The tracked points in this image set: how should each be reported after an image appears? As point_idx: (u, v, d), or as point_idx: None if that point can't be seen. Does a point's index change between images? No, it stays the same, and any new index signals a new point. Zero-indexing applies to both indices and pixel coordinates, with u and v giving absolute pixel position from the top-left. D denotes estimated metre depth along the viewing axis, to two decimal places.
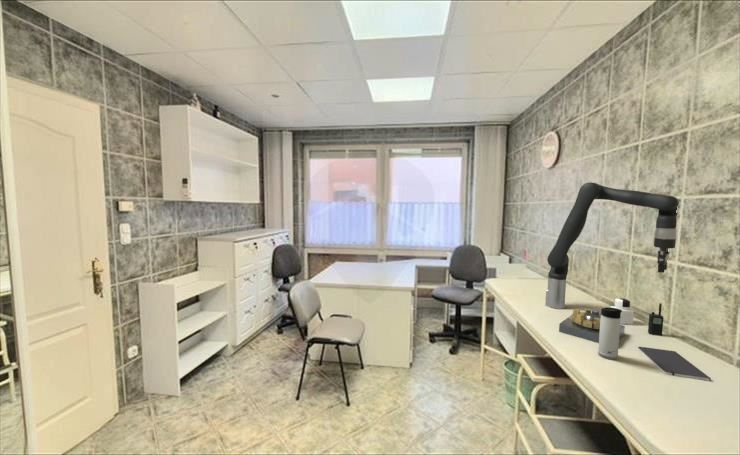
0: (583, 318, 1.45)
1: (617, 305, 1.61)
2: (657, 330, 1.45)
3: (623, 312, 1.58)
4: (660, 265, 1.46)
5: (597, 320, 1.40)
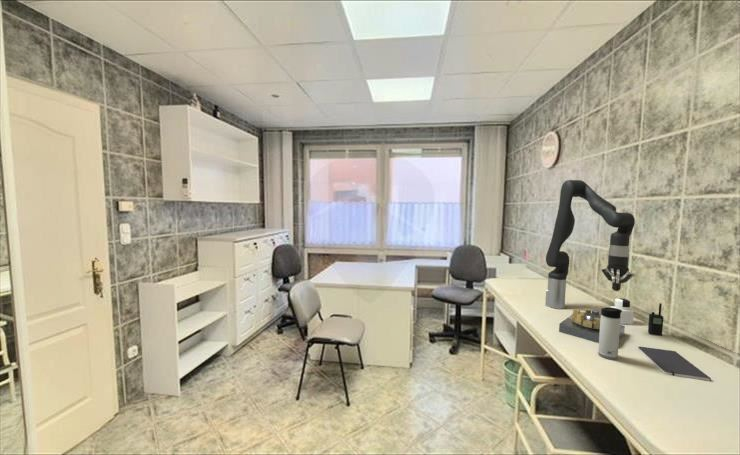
0: (583, 318, 1.45)
1: (617, 305, 1.61)
2: (657, 330, 1.45)
3: (623, 312, 1.58)
4: (619, 284, 1.46)
5: (597, 320, 1.40)
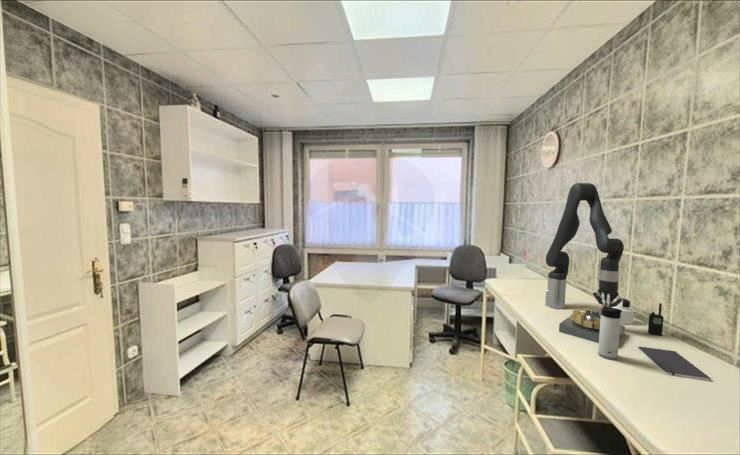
0: (583, 318, 1.45)
1: (617, 305, 1.61)
2: (657, 330, 1.45)
3: (623, 312, 1.58)
4: None
5: (597, 320, 1.40)
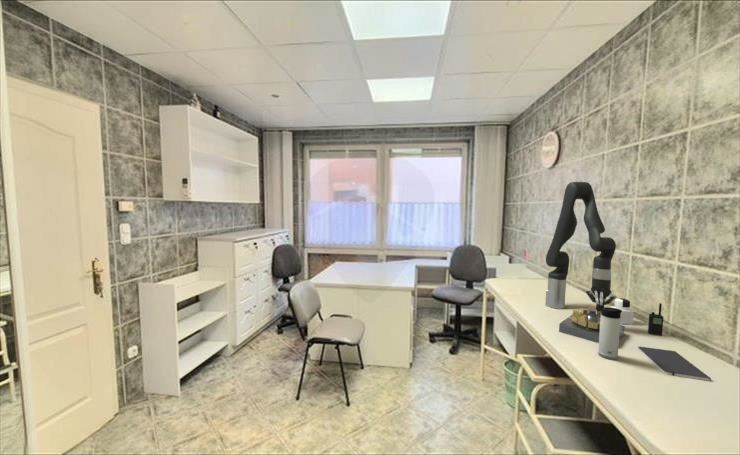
0: (587, 319, 1.43)
1: (617, 305, 1.61)
2: (657, 330, 1.45)
3: (623, 312, 1.58)
4: (603, 306, 1.53)
5: None
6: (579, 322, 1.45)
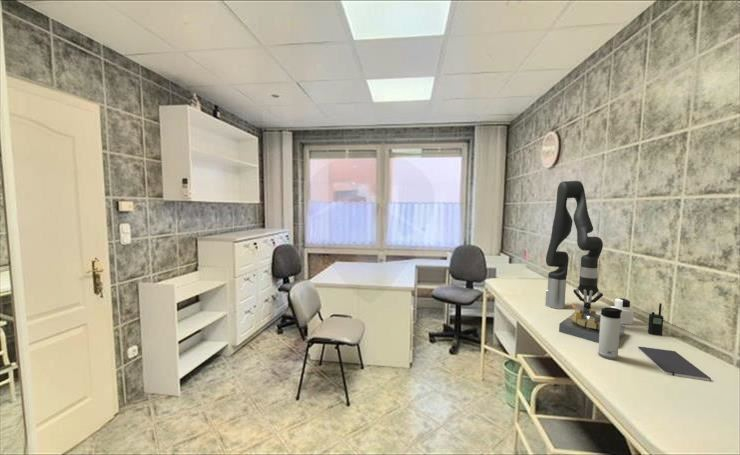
0: None
1: (617, 305, 1.61)
2: (657, 330, 1.45)
3: (623, 312, 1.58)
4: None
5: None
6: (588, 325, 1.42)
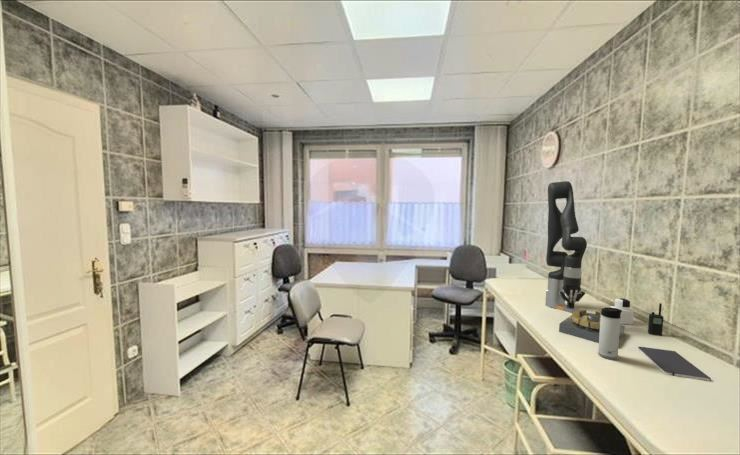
0: None
1: (617, 305, 1.61)
2: (657, 330, 1.45)
3: (623, 312, 1.58)
4: None
5: None
6: None
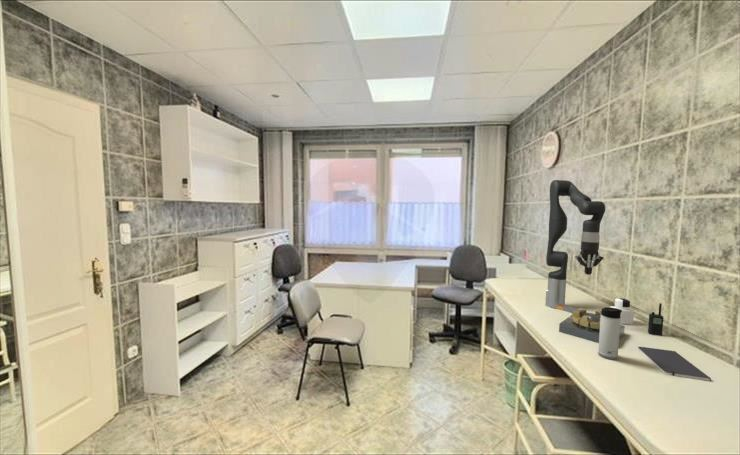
0: None
1: (617, 305, 1.61)
2: (657, 330, 1.45)
3: (623, 312, 1.58)
4: None
5: None
6: None
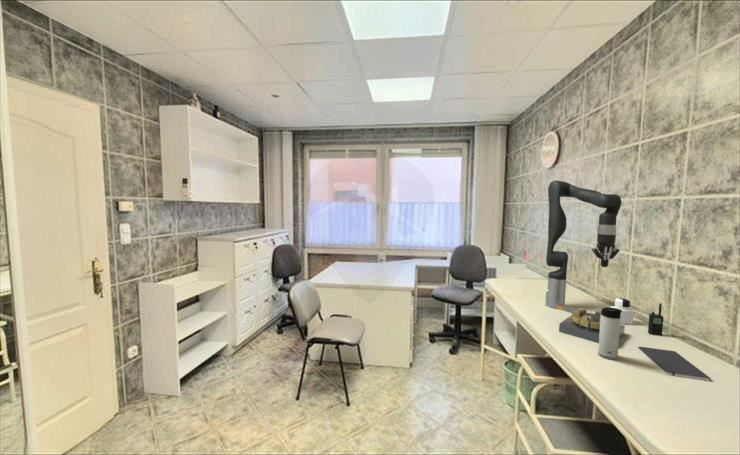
0: None
1: (617, 305, 1.61)
2: (657, 330, 1.45)
3: (623, 312, 1.58)
4: None
5: None
6: None
